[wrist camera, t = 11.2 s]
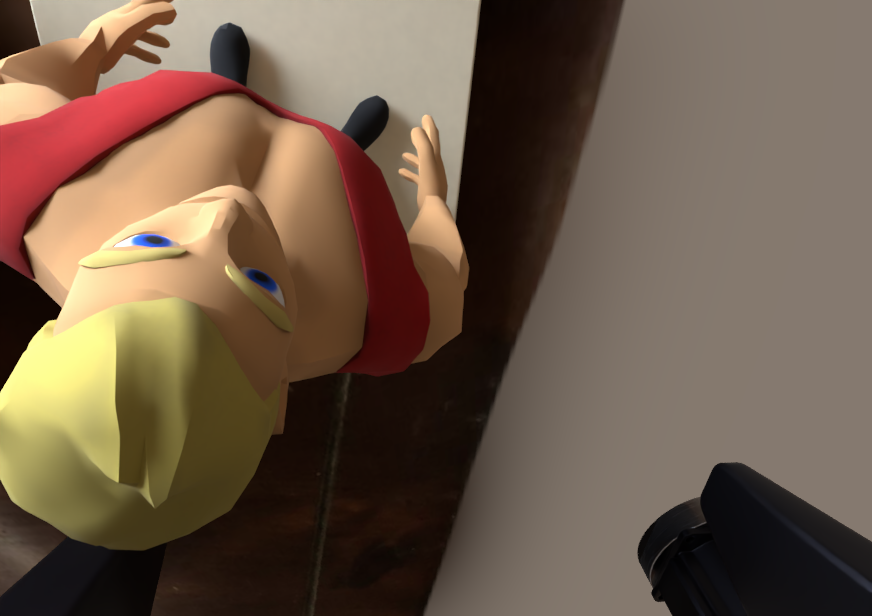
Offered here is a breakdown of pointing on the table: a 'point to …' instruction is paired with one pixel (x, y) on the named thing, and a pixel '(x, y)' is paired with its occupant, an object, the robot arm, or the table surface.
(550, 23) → the table surface
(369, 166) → the action figure
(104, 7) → the display board
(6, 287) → the table surface
